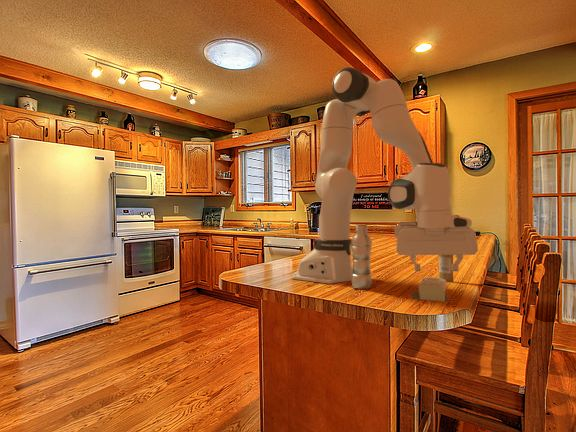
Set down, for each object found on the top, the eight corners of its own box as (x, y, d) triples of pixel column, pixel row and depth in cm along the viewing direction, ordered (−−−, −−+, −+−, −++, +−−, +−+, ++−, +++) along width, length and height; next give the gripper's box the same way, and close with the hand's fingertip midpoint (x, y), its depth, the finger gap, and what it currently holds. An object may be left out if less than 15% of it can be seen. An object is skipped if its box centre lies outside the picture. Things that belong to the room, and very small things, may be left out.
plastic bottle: (351, 291, 95) (351, 225, 95) (350, 285, 102) (350, 224, 101) (373, 291, 94) (373, 225, 94) (370, 286, 101) (370, 224, 100)
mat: (412, 300, 85) (412, 298, 85) (411, 293, 92) (411, 291, 92) (449, 304, 82) (449, 301, 82) (445, 296, 89) (445, 294, 89)
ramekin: (422, 292, 93) (422, 281, 93) (421, 287, 99) (421, 276, 99) (447, 294, 90) (447, 282, 90) (444, 289, 97) (444, 277, 96)
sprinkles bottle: (456, 282, 105) (456, 242, 105) (448, 284, 103) (449, 243, 103) (443, 279, 109) (443, 241, 109) (435, 281, 107) (435, 242, 106)
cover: (420, 299, 84) (420, 290, 84) (418, 292, 91) (418, 284, 91) (444, 301, 82) (444, 292, 82) (441, 293, 89) (441, 285, 89)
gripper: (394, 223, 86) (396, 272, 87) (478, 220, 80) (480, 273, 80) (393, 221, 92) (396, 268, 93) (472, 218, 86) (474, 268, 86)
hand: (436, 270), depth 86 cm, fingers open, 8 cm apart
